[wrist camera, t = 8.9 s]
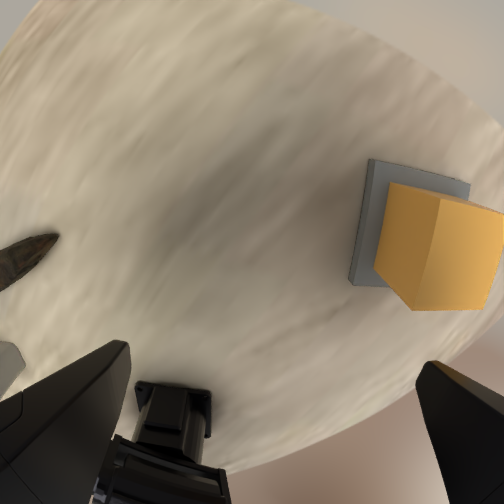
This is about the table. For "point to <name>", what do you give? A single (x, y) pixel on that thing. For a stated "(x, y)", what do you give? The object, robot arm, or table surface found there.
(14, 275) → the hand tool
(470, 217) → the orange foam cube
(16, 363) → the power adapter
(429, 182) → the grey base with peg
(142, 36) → the table surface
